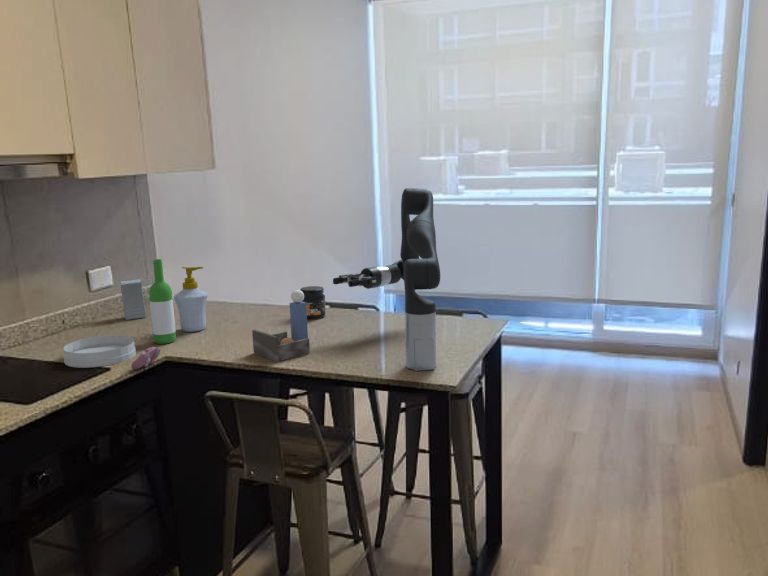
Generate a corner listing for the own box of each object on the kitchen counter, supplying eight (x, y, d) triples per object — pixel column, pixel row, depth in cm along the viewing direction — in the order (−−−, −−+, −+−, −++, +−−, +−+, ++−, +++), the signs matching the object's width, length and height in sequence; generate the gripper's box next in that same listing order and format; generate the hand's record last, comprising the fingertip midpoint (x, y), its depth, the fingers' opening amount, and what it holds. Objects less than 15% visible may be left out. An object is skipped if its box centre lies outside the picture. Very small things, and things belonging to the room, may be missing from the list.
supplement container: (298, 320, 259) (297, 291, 257) (301, 314, 270) (300, 286, 267) (324, 319, 259) (323, 290, 257) (326, 313, 270) (325, 285, 267)
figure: (301, 345, 222) (298, 288, 218) (309, 348, 219) (306, 289, 215) (291, 348, 219) (288, 290, 215) (298, 351, 216) (295, 291, 212)
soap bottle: (204, 333, 242) (199, 269, 237) (171, 334, 242) (165, 269, 237) (214, 325, 254) (210, 263, 249) (183, 325, 255) (177, 264, 250)
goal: (286, 345, 223) (284, 322, 222) (309, 353, 213) (308, 329, 212) (253, 353, 215) (252, 330, 213) (276, 361, 205) (275, 337, 203)
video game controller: (141, 375, 200) (149, 356, 198) (129, 368, 200) (136, 349, 199) (157, 365, 210) (165, 347, 208) (145, 358, 210) (152, 340, 208)
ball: (286, 346, 210) (297, 352, 214) (288, 333, 213) (298, 339, 216) (276, 350, 213) (286, 356, 216) (277, 337, 216) (288, 343, 219)
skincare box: (144, 314, 276) (141, 278, 272) (146, 318, 269) (142, 281, 266) (123, 317, 272) (119, 280, 269) (124, 320, 266) (120, 283, 263)
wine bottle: (151, 345, 228) (142, 261, 222) (157, 339, 235) (149, 258, 230) (173, 344, 228) (165, 260, 223) (178, 338, 236) (171, 257, 230)
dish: (72, 352, 223) (70, 338, 222) (139, 346, 228) (138, 332, 227) (57, 371, 201) (55, 356, 200) (131, 364, 207) (130, 349, 206)
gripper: (362, 265, 238) (328, 270, 227) (388, 268, 228) (354, 273, 217) (363, 285, 239) (329, 291, 228) (389, 289, 229) (354, 295, 218)
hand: (341, 282), depth 223 cm, fingers open, 8 cm apart
